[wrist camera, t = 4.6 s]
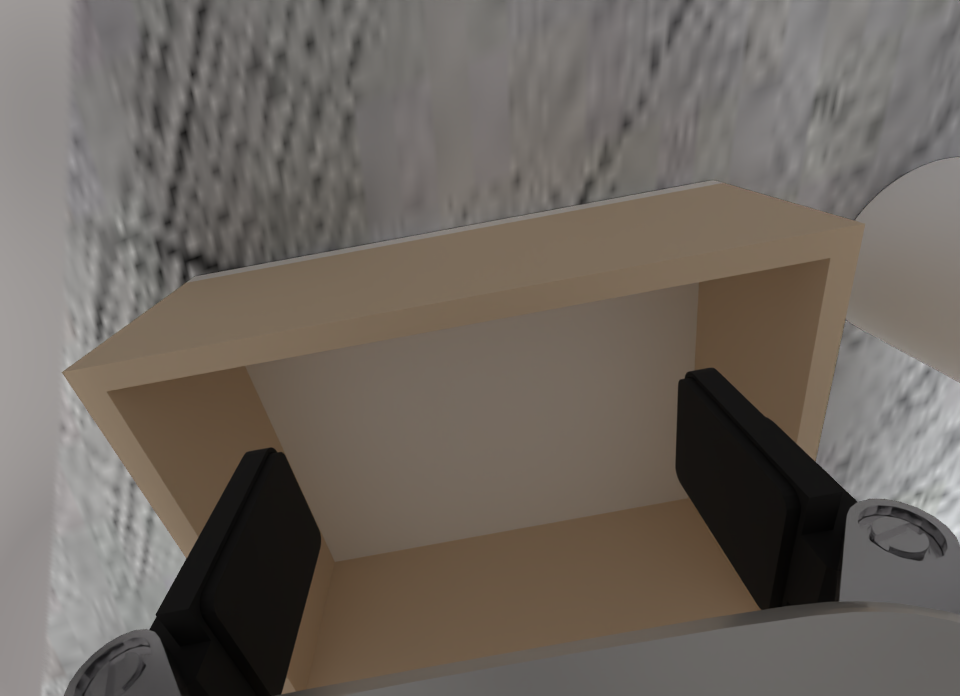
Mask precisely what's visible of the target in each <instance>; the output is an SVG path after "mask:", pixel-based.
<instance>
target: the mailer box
mask: <svg viewBox="0 0 960 696" xmlns="http://www.w3.org/2000/svg"><path fill="white" fill-rule="evenodd" d="M864 228H865V224H864V223H861V222H857V221H854V220H850V219H847V218H844V217H840V216H837V215H833V214H830V213H826V212H823V211H819V210H816V209H812V208H809V207H805V206H802V205H798V204H795V203H792V202H788V201H785V200H781V199H778V198H774V197H771V196H767V195H764V194H760V193H757V192H753V191H750V190H746V189H743V188H739V187H736V186H733V185H729V184H726V183H722V182H719V181H715V180H711V181H705V182H700V183H694V184H689V185H684V186H678V187H673V188H668V189H662V190H657V191H651V192H646V193H641V194H635V195H630V196H625V197H619V198H614V199H608V200H603V201H598V202H592V203H587V204H582V205H576V206H571V207H565V208H560V209H555V210H549V211H544V212H539V213H533V214H528V215H522V216H517V217H512V218H506V219H501V220H496V221H490V222H485V223H479V224H474V225H469V226H463V227H458V228H453V229H447V230H442V231H436V232H431V233H426V234H420V235H415V236H410V237H404V238H399V239H393V240H388V241H383V242H377V243H372V244H367V245H361V246H356V247H350V248H345V249H340V250H334V251H329V252H324V253H318V254H313V255H307V256H302V257H297V258H291V259H286V260H281V261H275V262H270V263H264V264H259V265H254V266H248V267H243V268H238V269H232V270H227V271H221V272H216V273H211V274H205V275H200V276H195V277H193V278H192V279H191V280H189V281H188V282H186V283H185V284H184V285H182V286H181V287H179V288H178V289H177V290H175V291H174V292H173V293H171V294H170V295H168V296H167V297H166V298H164V299H163V300H161V301H160V302H159V303H157V304H156V305H154V306H153V307H152V308H150V309H149V310H148V311H146V312H145V313H143V314H142V315H141V316H139V317H138V318H136V319H135V320H134V321H132V322H131V323H130V324H128V325H127V326H125V327H124V328H123V329H121V330H120V331H118V332H117V333H116V334H114V335H113V336H111V337H110V338H109V339H107V340H106V341H105V342H103V343H102V344H100V345H99V346H98V347H96V348H95V349H93V350H92V351H91V352H89V353H88V354H87V355H85V356H84V357H82V358H81V359H80V360H78V361H77V362H75V363H74V364H73V365H71V366H70V367H69V368H67V369H66V370H64V371H63V372H62V373H63V375H64V376H65V378H66V379H67V381H68V382H69V384H70V385H71V387H72V388H73V390H74V391H75V393H76V394H77V396H78V397H79V399H80V400H81V402H82V403H83V405H84V406H85V408H86V409H87V411H88V412H89V414H90V415H91V417H92V418H93V420H94V421H95V423H96V424H97V425H98V427H99V428H100V430H101V431H102V433H103V434H104V436H105V437H106V439H107V440H108V442H109V443H110V445H111V446H112V448H113V449H114V451H115V452H116V454H117V455H118V457H119V458H120V460H121V461H122V463H123V464H124V466H125V467H126V469H127V470H128V472H129V473H130V475H131V476H132V478H133V479H134V481H135V482H136V484H137V485H138V487H139V488H140V490H141V491H142V493H143V494H144V496H145V497H146V499H147V500H148V502H149V503H150V505H151V506H152V508H153V509H154V511H155V512H156V514H157V515H158V517H159V518H160V520H161V521H162V522H163V524H164V525H165V527H166V528H167V530H168V531H169V533H170V534H171V536H172V537H173V539H174V540H175V542H176V543H177V545H178V546H179V548H180V549H181V551H182V552H183V554H184V555H185V557H186V558H187V557H188V555H189V553H190V552H191V550H192V548H193V546H194V544H195V542H196V541H197V539H198V537H199V535H200V533H201V532H202V530H203V528H204V526H205V524H206V523H207V521H208V519H209V517H210V515H211V513H212V512H213V510H214V508H215V506H216V504H217V503H218V501H219V499H220V497H221V495H222V494H223V492H224V490H225V488H226V486H227V484H228V483H229V481H230V479H231V477H232V475H233V474H234V472H235V470H236V468H237V466H238V465H239V463H240V461H241V459H242V457H243V456H244V454H245V453H246V452H248V451H253V450H259V449H264V448H270V447H272V448H274V449H275V450H276V451H277V452H283V453H284V454H285V456H286V458H287V460H288V462H289V465H290V467H291V469H292V471H293V473H294V476H295V478H296V480H297V482H298V484H299V487H300V489H301V491H302V493H303V495H304V497H305V500H306V502H307V504H308V506H309V508H310V511H311V513H312V515H313V517H314V519H315V522H316V524H317V526H318V528H319V531H320V534H321V548H320V552H319V555H318V559H317V563H316V567H315V570H314V574H313V578H312V582H311V586H310V589H309V593H308V597H307V601H306V604H305V608H304V612H303V616H302V620H301V623H300V627H299V631H298V635H297V638H296V642H295V646H294V650H293V653H292V657H291V661H290V665H289V669H288V672H287V676H286V680H285V684H284V687H283V691H282V693H281V694H286V693H291V692H296V691H301V690H306V689H311V688H316V687H322V686H327V685H333V684H338V683H344V682H349V681H355V680H360V679H366V678H371V677H376V676H382V675H387V674H393V673H398V672H404V671H409V670H415V669H420V668H426V667H431V666H437V665H442V664H448V663H454V662H459V661H465V660H470V659H476V658H482V657H487V656H493V655H498V654H504V653H510V652H515V651H521V650H527V649H532V648H538V647H544V646H549V645H555V644H561V643H566V642H572V641H578V640H584V639H589V638H595V637H601V636H607V635H613V634H619V633H624V632H630V631H636V630H642V629H648V628H654V627H659V626H665V625H671V624H677V623H683V622H689V621H694V620H700V619H706V618H713V617H719V616H726V615H732V614H739V613H745V612H752V611H758V610H761V609H760V608H759V607H758V605H757V604H756V602H755V601H754V599H753V597H752V596H751V594H750V593H749V591H748V590H747V588H746V586H745V585H744V583H743V582H742V580H741V578H740V577H739V575H738V574H737V572H736V571H735V569H734V567H733V566H732V564H731V563H730V561H729V560H728V558H727V556H726V555H725V553H724V552H723V550H722V548H721V547H720V545H719V544H718V542H717V541H716V539H715V537H714V536H713V534H712V533H711V531H710V529H709V528H708V526H707V525H706V523H705V522H704V520H703V518H702V517H701V515H700V514H699V512H698V510H697V509H696V507H695V506H694V504H693V503H692V501H691V499H690V498H689V496H688V495H687V493H686V491H685V490H684V488H683V487H682V485H681V484H680V482H679V480H678V477H677V474H676V469H675V460H676V431H677V401H678V382H679V380H680V379H685V375H686V373H687V372H689V371H694V370H700V369H705V368H715V369H716V370H717V371H718V372H719V373H721V374H722V375H723V376H724V377H725V378H726V379H727V380H728V381H729V382H730V383H731V384H732V385H733V386H734V387H735V388H736V389H737V390H738V391H739V392H740V393H741V394H742V395H743V396H744V397H745V398H746V399H747V400H748V401H749V402H751V403H752V404H753V405H754V406H755V407H756V408H757V409H758V410H759V411H760V412H761V413H762V414H763V415H764V416H765V417H767V418H769V419H771V420H772V421H773V422H774V423H775V424H777V425H778V426H779V427H780V428H781V429H782V430H783V431H784V432H785V433H786V434H787V435H788V436H789V437H790V438H791V439H792V440H793V441H794V442H795V443H796V444H797V445H798V446H799V447H801V448H802V449H803V450H804V451H805V452H806V453H807V454H808V455H809V456H810V457H811V458H812V459H813V460H814V461H816V456H817V452H818V447H819V442H820V437H821V433H822V428H823V423H824V418H825V414H826V409H827V404H828V399H829V394H830V390H831V385H832V380H833V375H834V371H835V366H836V361H837V356H838V352H839V347H840V342H841V337H842V333H843V328H844V323H845V318H846V314H847V309H848V304H849V299H850V295H851V290H852V285H853V280H854V276H855V271H856V266H857V261H858V256H859V252H860V247H861V242H862V237H863V233H864Z"/></svg>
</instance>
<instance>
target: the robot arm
mask: <svg viewBox="0 0 960 696" xmlns="http://www.w3.org/2000/svg"><path fill="white" fill-rule="evenodd" d="M675 469H676V474H677V477H678V480H679V482H680V484H681V485H682V487H683V488H684V490H685V491H686V493H687V495H688V496H689V498H690V499H691V501H692V503H693V504H694V506H695V507H696V509H697V510H698V512H699V514H700V515H701V517H702V518H703V520H704V522H705V523H706V525H707V526H708V528H709V529H710V531H711V533H712V534H713V536H714V537H715V539H716V541H717V542H718V544H719V545H720V547H721V548H722V550H723V552H724V553H725V555H726V556H727V558H728V560H729V561H730V563H731V564H732V566H733V567H734V569H735V571H736V572H737V574H738V575H739V577H740V578H741V580H742V582H743V583H744V585H745V586H746V588H747V590H748V591H749V593H750V594H751V596H752V597H753V599H754V601H755V602H756V604H757V605H758V607H759V608H760V609H761V610H758V611H752V612H745V613H739V614H732V615H726V616H719V617H713V618H706V619H700V620H694V621H689V622H683V623H677V624H671V625H665V626H659V627H654V628H648V629H642V630H636V631H630V632H624V633H619V634H613V635H607V636H601V637H595V638H589V639H584V640H578V641H572V642H566V643H561V644H555V645H549V646H544V647H538V648H532V649H527V650H521V651H515V652H510V653H504V654H498V655H493V656H487V657H482V658H476V659H470V660H465V661H459V662H454V663H448V664H442V665H437V666H431V667H426V668H420V669H415V670H409V671H404V672H398V673H393V674H387V675H382V676H376V677H371V678H366V679H360V680H355V681H349V682H344V683H338V684H333V685H327V686H322V687H316V688H311V689H306V690H301V691H296V692H291V693H286V694H281V693H282V691H283V687H284V684H285V680H286V676H287V672H288V669H289V665H290V661H291V657H292V653H293V650H294V646H295V642H296V638H297V635H298V631H299V627H300V623H301V620H302V616H303V612H304V608H305V604H306V601H307V597H308V593H309V589H310V586H311V582H312V578H313V574H314V570H315V567H316V563H317V559H318V555H319V552H320V548H321V534H320V531H319V528H318V526H317V524H316V522H315V519H314V517H313V515H312V513H311V511H310V508H309V506H308V504H307V502H306V500H305V497H304V495H303V493H302V491H301V489H300V487H299V484H298V482H297V480H296V478H295V476H294V473H293V471H292V469H291V467H290V465H289V462H288V460H287V458H286V456H285V454H284V453H283V452H277V451H276V450H275V449H274V448H272V447H270V448H264V449H259V450H253V451H248V452H246V453H245V454H244V456H243V457H242V459H241V461H240V463H239V465H238V466H237V468H236V470H235V472H234V474H233V475H232V477H231V479H230V481H229V483H228V484H227V486H226V488H225V490H224V492H223V494H222V495H221V497H220V499H219V501H218V503H217V504H216V506H215V508H214V510H213V512H212V513H211V515H210V517H209V519H208V521H207V523H206V524H205V526H204V528H203V530H202V532H201V533H200V535H199V537H198V539H197V541H196V542H195V544H194V546H193V548H192V550H191V552H190V553H189V555H188V557H187V559H186V561H185V562H184V564H183V566H182V568H181V570H180V571H179V573H178V575H177V577H176V579H175V581H174V582H173V584H172V586H171V588H170V590H169V591H168V593H167V595H166V597H165V599H164V600H163V602H162V604H161V606H160V608H159V610H158V611H157V613H156V616H157V617H156V619H155V621H154V622H153V624H152V626H151V628H150V630H147V629H143V630H134V631H131V632H129V633H126V634H123V635H121V636H119V637H117V638H115V639H114V640H112V641H110V642H108V643H107V644H105V645H104V646H103V647H102V648H100V649H99V650H98V651H97V652H95V653H94V654H93V655H92V656H91V657H90V658H89V659H88V660H87V661H86V662H85V663H84V664H83V665H82V666H81V667H80V668H79V670H78V671H77V673H76V674H75V675H74V677H73V678H72V680H71V681H70V682H69V685H68V687H67V689H66V692H65V694H64V696H960V545H959V542H958V540H957V537H956V536H955V535H954V534H953V533H952V532H951V530H950V529H949V528H948V527H947V526H946V525H945V524H943V523H942V522H941V521H939V520H938V519H937V518H935V517H934V516H932V515H930V514H929V513H927V512H925V511H923V510H921V509H919V508H917V507H914V506H911V505H908V504H905V503H902V502H899V501H893V500H887V499H867V500H863V501H860V502H857V501H856V500H855V499H854V498H853V497H852V496H851V495H850V494H849V493H848V492H847V491H845V490H844V489H843V488H842V487H841V486H840V485H839V484H838V483H837V482H836V481H835V480H834V479H833V478H832V477H831V476H830V475H829V474H828V473H827V472H826V471H825V470H824V469H822V468H821V467H820V466H819V465H818V464H817V463H816V462H815V461H814V460H813V459H812V458H811V457H810V456H809V455H808V454H807V453H806V452H805V451H804V450H803V449H802V448H801V447H799V446H798V445H797V444H796V443H795V442H794V441H793V440H792V439H791V438H790V437H789V436H788V435H787V434H786V433H785V432H784V431H783V430H782V429H781V428H780V427H779V426H778V425H777V424H775V423H774V422H773V421H772V420H771V419H769V418H767V417H765V416H764V415H763V414H762V413H761V412H760V411H759V410H758V409H757V408H756V407H755V406H754V405H753V404H752V403H751V402H749V401H748V400H747V399H746V398H745V397H744V396H743V395H742V394H741V393H740V392H739V391H738V390H737V389H736V388H735V387H734V386H733V385H732V384H731V383H730V382H729V381H728V380H727V379H726V378H725V377H724V376H723V375H722V374H721V373H719V372H718V371H717V370H716V369H715V368H705V369H700V370H694V371H689V372H687V373H686V375H685V379H680V380H679V382H678V401H677V431H676V460H675Z"/></svg>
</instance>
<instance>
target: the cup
mask: <svg viewBox="0 0 960 696" xmlns="http://www.w3.org/2000/svg"><path fill="white" fill-rule="evenodd" d="M855 221H857V222H861V223H864V224H865V228H864V233H863V237H862V242H861V247H860V252H859V256H858V261H857V266H856V271H855V276H854V280H853V285H852V290H851V295H850V299H849V304H848V309H847V314H846V318H845V319H846V320H847V321H849V322H850V323H851V324H853V325H854V326H856V327H858V328H860V329H861V330H863V331H865V332H867V333H869V334H871V335H873V336H874V337H876V338H878V339H880V340H882V341H884V342H886V343H887V344H889V345H891V346H893V347H895V348H897V349H898V350H900V351H902V352H904V353H906V354H908V355H910V356H911V357H913V358H915V359H917V360H919V361H921V362H923V363H924V364H926V365H928V366H930V367H932V368H934V369H935V370H937V371H939V372H941V373H943V374H945V375H947V376H948V377H950V378H952V379H954V380H956V381H958V382H960V157H954V158H947V159H942V160H938V161H934V162H931V163H929V164H926V165H923V166H921V167H919V168H917V169H914V170H912V171H911V172H909V173H907V174H905V175H903V176H902V177H900V178H899V179H897V180H896V181H894V182H893V183H892V184H890V185H889V186H888V187H886V188H885V189H884V190H883V191H881V192H880V193H879V194H878V195H877V196H876V197H875V198H874V199H873V200H872V201H871V202H870V203H869V204H868V205H867V206H866V207H865V208H864V209H863V210H862V212H861V213H860V214H859V215H858V217H857V218H856V219H855Z"/></svg>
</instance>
